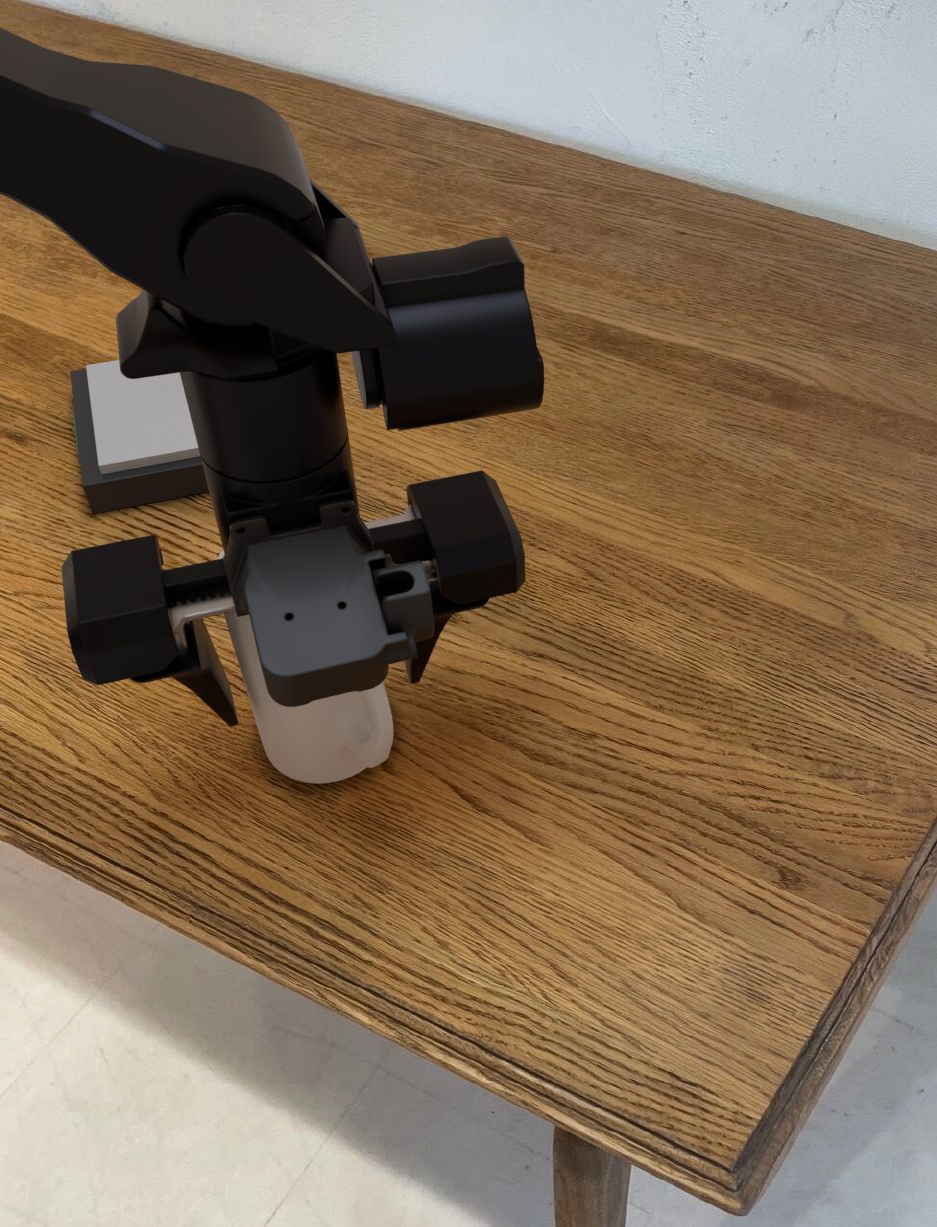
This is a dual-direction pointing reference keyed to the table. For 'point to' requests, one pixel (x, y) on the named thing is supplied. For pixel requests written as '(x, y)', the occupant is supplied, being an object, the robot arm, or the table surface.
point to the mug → (313, 721)
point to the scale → (133, 438)
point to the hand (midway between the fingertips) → (324, 697)
